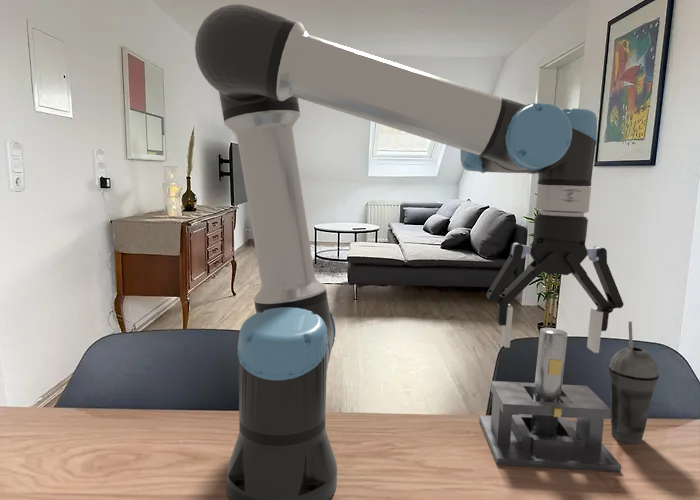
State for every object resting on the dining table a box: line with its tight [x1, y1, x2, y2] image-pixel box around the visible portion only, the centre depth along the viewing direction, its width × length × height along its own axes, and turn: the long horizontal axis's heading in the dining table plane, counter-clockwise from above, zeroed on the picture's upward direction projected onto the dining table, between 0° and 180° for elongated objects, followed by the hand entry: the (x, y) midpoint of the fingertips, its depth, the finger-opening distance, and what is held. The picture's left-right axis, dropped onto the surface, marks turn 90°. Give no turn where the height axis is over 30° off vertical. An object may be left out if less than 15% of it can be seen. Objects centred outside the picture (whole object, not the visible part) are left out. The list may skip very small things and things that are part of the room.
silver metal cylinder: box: [530, 327, 568, 436], centre depth 78 cm, size 4×4×18 cm
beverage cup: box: [608, 321, 660, 445], centre depth 82 cm, size 7×7×20 cm
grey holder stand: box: [478, 380, 622, 473], centre depth 80 cm, size 18×14×8 cm
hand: (548, 347), depth 78 cm, fingers open, 13 cm apart
